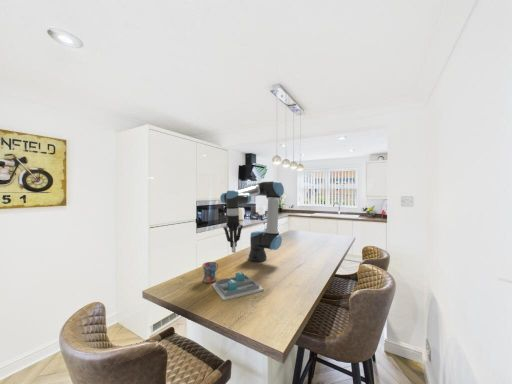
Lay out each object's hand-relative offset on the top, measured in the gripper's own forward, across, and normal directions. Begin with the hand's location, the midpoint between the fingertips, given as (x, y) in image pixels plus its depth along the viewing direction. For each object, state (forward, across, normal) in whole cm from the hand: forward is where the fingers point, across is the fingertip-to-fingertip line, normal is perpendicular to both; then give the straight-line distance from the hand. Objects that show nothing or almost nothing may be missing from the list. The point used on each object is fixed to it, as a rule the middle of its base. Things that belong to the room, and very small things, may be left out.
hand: (233, 252), depth 135 cm
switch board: (+18, +3, +10) cm, 21 cm away
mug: (+18, +12, -8) cm, 23 cm away
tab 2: (+17, -1, +6) cm, 18 cm away
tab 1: (+17, +8, +15) cm, 23 cm away
